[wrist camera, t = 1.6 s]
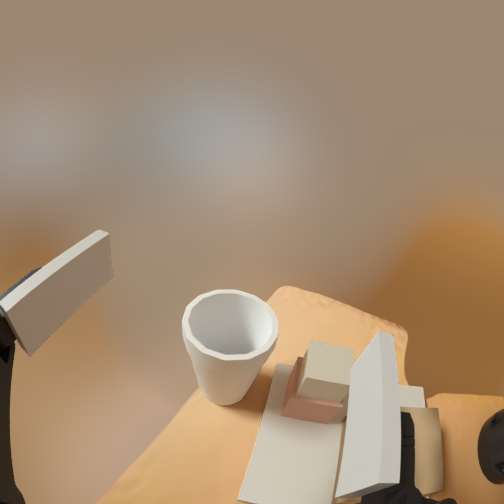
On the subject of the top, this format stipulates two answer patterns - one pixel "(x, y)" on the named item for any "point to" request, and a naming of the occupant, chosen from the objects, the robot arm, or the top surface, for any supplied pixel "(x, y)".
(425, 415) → the oak plinth
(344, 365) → the terracotta tower
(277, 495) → the white board
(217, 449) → the top surface
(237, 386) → the foam cup
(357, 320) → the top surface
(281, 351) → the top surface
